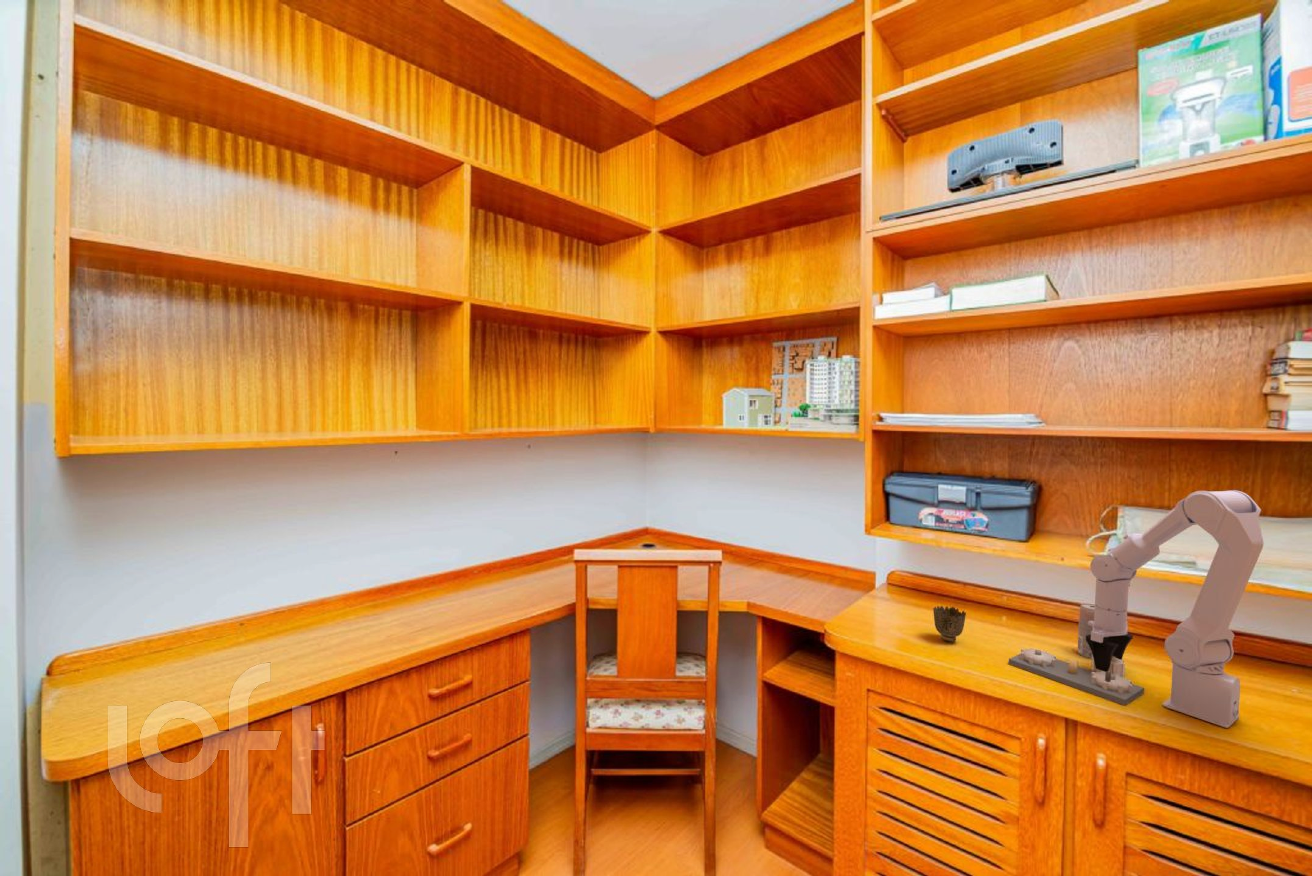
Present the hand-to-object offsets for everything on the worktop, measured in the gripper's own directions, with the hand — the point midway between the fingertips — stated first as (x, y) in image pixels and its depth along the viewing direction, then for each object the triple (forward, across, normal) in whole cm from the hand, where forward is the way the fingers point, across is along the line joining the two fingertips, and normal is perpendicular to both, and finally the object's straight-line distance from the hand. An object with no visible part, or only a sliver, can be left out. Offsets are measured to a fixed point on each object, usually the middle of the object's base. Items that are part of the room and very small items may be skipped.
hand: (1107, 666), depth 128 cm
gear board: (+1, +10, -3) cm, 11 cm away
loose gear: (+1, 0, 0) cm, 1 cm away
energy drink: (+2, -8, -6) cm, 10 cm away
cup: (+2, +14, -29) cm, 32 cm away
